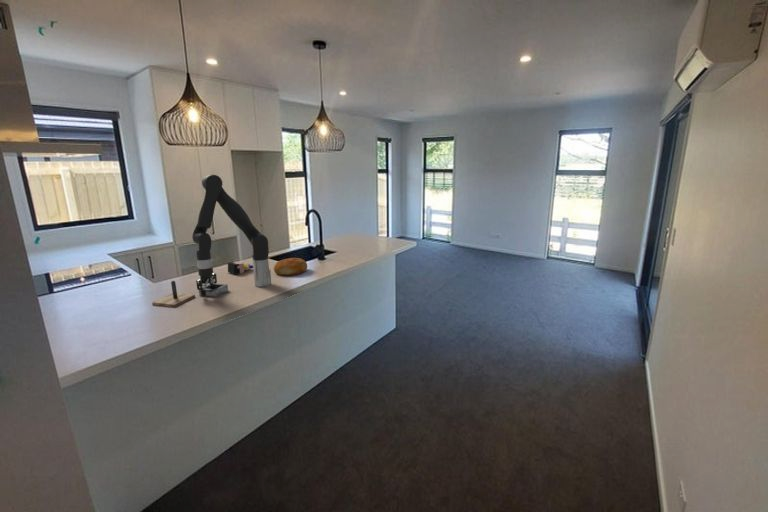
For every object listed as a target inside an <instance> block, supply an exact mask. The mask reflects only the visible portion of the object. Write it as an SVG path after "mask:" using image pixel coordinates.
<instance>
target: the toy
mask: <svg viewBox="0 0 768 512" xmlns="http://www.w3.org/2000/svg"><path fill="white" fill-rule="evenodd" d="M250 269H253V264H249V263H244V262H240V261H228V262H227V272H228V273H229V274H231V275H238V274H244V273H245V271H248V270H250Z"/></svg>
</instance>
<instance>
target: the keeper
mask: <svg viewBox="0 0 768 512" xmlns="http://www.w3.org/2000/svg"><path fill="white" fill-rule="evenodd" d="M170 284H171V291H172V293H170V294H168V295H165V296H163V297H160V298H159V299H157V300H154V301H152V302H151V303H152V305H153V306H160V307H169V308H176V307H179V306H180V305H183V304H184V303H187V302H189V301H190V300H192V299H194V298H196V295H195V294H190V293H179V292H178V291H177V284H176V281H175V280H172V281H171V282H170Z"/></svg>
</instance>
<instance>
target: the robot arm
mask: <svg viewBox="0 0 768 512" xmlns="http://www.w3.org/2000/svg"><path fill="white" fill-rule="evenodd" d="M201 184H202V187H203V188H204V190H205V194H204V199H203V202H202V205H201V208H200V209H199V214H198V217H197V223H196V226H195V227H194V230H193V232H192V241H193V242H194V243H195V244H197V245H198V249H196V260H197V262H196V263H197V264H196V265H197V271H198V276H199V279H196V280H195V282H196V289H197V291H199V290H201V295H202V296H201V297H207V296H206V293H205V287H206V286H207V285H208V284H210V288H211V289H215V283H217V284H218V279H217V273H214V267H213V266H214V265H213V261H212V255H211V254H212V253H211V248H212V237H211V235H210V233H207V231H208V230H209V229H210V228H211V227H212V224H213V219H214V215H215V214H214V213H215V210H216V205H217V203H218V205H219V206H220V207H221V209H222V210H223V211H224V213H225V214H226V215H227V216H228V218H229V219H230V220H231V221H232V222H233V223H234V225H235V226H236V227H238V228H239V229H240V231H242V233H243V234H244V235H245V237H246V239H248V241H249V243H250V244H251V246H252V251H253V252H252V265H253V268H252V269H253V277H254V278H253V279H254V286H255V287H258V288H263V287H265V288H266V287H269V286H271V284H272V275H271V274H272V273H271V269H270V265H269V254H270V253H269V251H270V250H269V240H268V238H267V236H266V235H264V234H262V232H260V231H259V230H258V229H257V227H256V226H255V225H254V224H253V223H252V221H251V219H250V217H249V215H248V213H246V211H245V210H244V208H243V207H242V206H241V205H240V204H239V203H238V202H237V201H236V200H235V199H234V198H232V196H230V195H229V194H228V193H227V192H226V190H225V189H224V188H223V180H222V178H221V177H220V176H219V175H217V174H209V175H205V176H204V177H203V178H202V181H201ZM202 287H203V288H202Z"/></svg>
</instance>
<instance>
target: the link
mask: <svg viewBox="0 0 768 512" xmlns="http://www.w3.org/2000/svg"><path fill="white" fill-rule="evenodd" d="M202 288H203V287H202ZM228 291H229V287H228V284H227V283H226V284H225V283H218V282H217V283H215V289H211V288H210V284H209V283H208V284H207V286H206V287H205V293H206V296H205V297H211V298H217V297H219V296H221V295H223V294H225V293H227V292H228ZM198 293H199V296H201V297H203V296H202V295H201V290H198Z"/></svg>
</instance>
